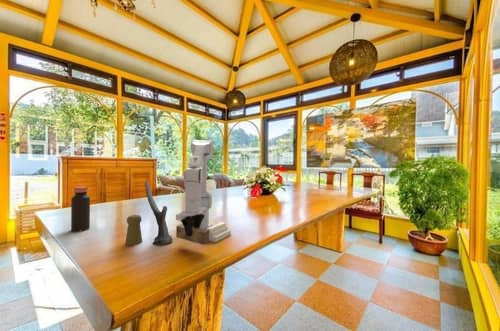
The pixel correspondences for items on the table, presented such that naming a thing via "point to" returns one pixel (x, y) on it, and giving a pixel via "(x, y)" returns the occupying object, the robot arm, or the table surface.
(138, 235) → the cork
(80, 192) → the bottle
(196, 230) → the walnut beam
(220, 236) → the ridge stand
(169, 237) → the antler
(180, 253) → the table surface
